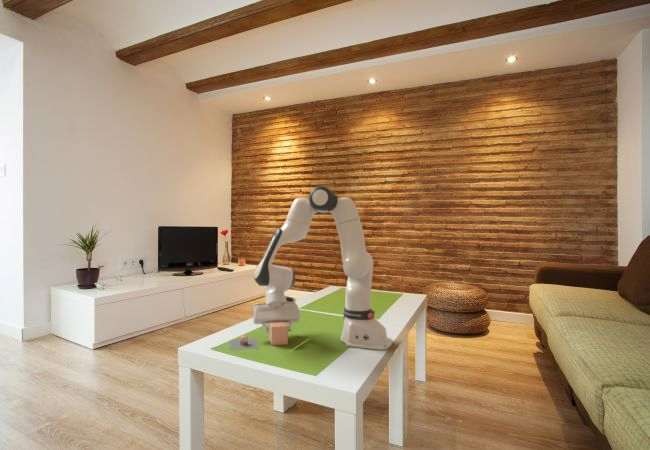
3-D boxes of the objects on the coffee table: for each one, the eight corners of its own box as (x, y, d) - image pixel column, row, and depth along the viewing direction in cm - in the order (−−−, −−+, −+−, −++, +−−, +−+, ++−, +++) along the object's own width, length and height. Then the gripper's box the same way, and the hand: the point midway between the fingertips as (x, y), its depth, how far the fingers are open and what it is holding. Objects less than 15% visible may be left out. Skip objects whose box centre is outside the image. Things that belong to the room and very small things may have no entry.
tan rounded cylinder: (249, 343, 145) (249, 336, 145) (244, 345, 142) (244, 338, 142) (243, 342, 146) (243, 335, 146) (238, 344, 144) (238, 337, 144)
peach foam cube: (284, 339, 153) (285, 321, 152) (287, 345, 146) (288, 326, 146) (269, 340, 151) (269, 322, 150) (271, 346, 144) (271, 327, 144)
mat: (256, 339, 151) (256, 338, 151) (258, 349, 141) (258, 347, 141) (229, 341, 148) (229, 340, 148) (230, 351, 138) (230, 349, 138)
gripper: (252, 300, 153) (254, 329, 144) (298, 298, 159) (302, 326, 150) (251, 307, 157) (252, 336, 148) (296, 305, 163) (300, 333, 154)
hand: (278, 331), depth 149 cm, fingers open, 8 cm apart
